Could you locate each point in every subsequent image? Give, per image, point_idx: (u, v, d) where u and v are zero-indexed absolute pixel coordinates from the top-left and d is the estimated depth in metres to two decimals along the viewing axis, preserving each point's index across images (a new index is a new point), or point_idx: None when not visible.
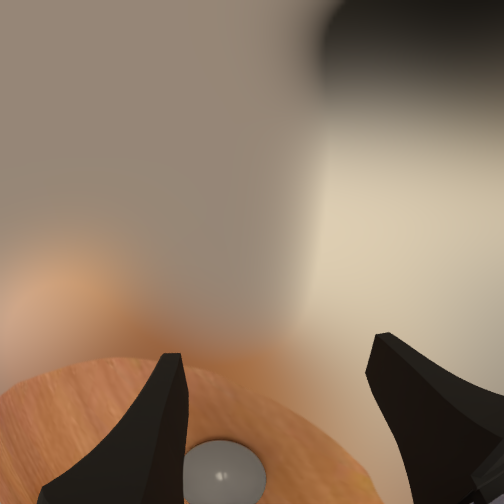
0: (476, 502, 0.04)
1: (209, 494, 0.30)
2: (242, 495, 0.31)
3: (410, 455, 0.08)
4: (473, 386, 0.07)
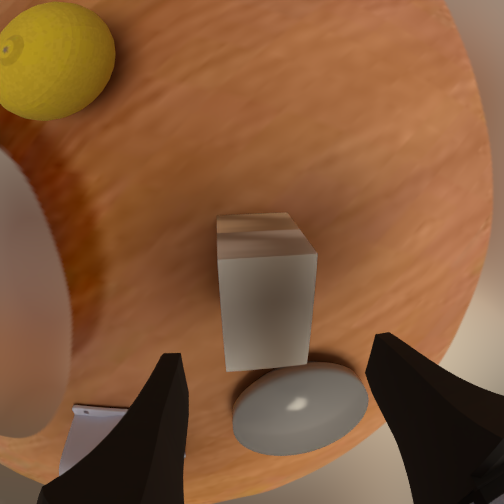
0: (476, 502, 0.04)
1: (277, 413, 0.22)
2: (272, 441, 0.23)
3: (410, 455, 0.08)
4: (473, 386, 0.07)
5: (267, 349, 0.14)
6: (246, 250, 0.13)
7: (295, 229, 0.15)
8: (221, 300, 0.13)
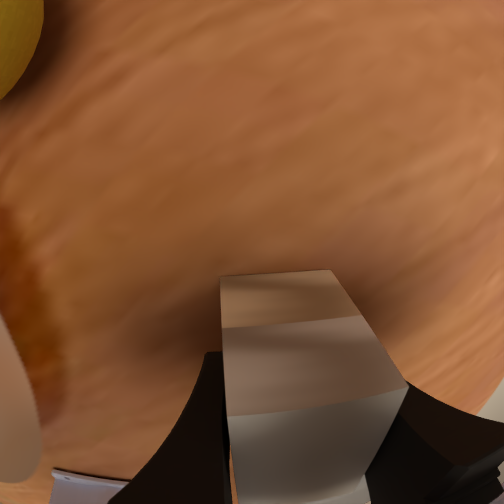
0: None
1: None
2: None
3: (370, 468, 0.08)
4: (435, 401, 0.07)
5: (302, 491, 0.08)
6: (281, 386, 0.06)
7: (355, 315, 0.09)
8: (234, 459, 0.06)
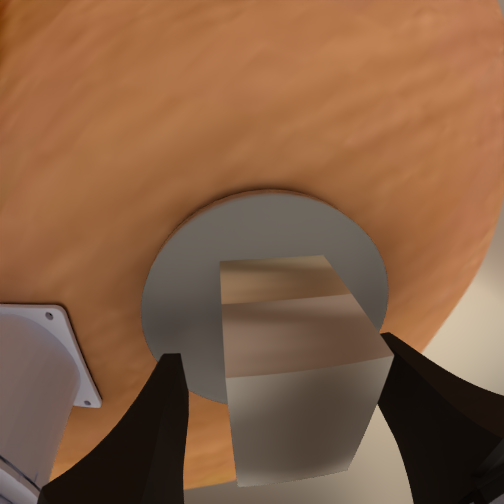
0: (476, 501, 0.04)
1: (218, 296, 0.13)
2: (220, 370, 0.14)
3: (410, 455, 0.08)
4: (473, 386, 0.07)
5: (297, 466, 0.09)
6: (275, 352, 0.07)
7: (345, 294, 0.10)
8: (232, 426, 0.07)
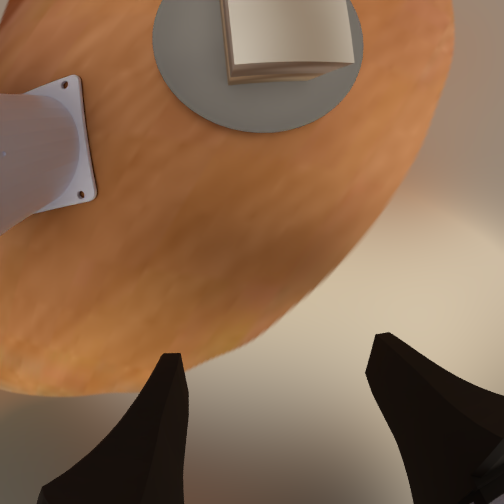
0: (476, 501, 0.04)
1: (217, 7, 0.12)
2: (220, 79, 0.14)
3: (410, 455, 0.08)
4: (473, 386, 0.07)
5: (293, 26, 0.08)
6: None
7: None
8: None
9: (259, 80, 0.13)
